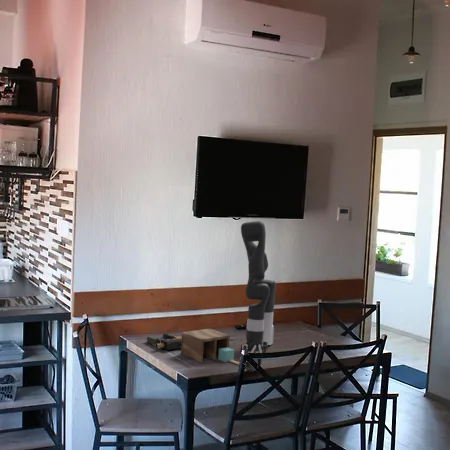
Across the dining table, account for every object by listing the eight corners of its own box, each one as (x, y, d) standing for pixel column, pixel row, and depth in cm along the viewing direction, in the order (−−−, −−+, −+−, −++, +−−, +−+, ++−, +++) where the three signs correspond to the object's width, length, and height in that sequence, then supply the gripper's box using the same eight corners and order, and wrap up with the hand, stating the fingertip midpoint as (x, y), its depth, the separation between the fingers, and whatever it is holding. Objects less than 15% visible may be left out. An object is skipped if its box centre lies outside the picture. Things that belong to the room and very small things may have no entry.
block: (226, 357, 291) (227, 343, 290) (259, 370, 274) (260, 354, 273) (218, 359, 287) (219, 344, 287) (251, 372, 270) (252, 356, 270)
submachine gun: (134, 343, 312) (160, 352, 292) (134, 333, 312) (161, 342, 292) (182, 338, 330) (211, 347, 310) (183, 329, 330) (211, 337, 310)
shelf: (208, 349, 304) (209, 328, 303) (228, 356, 293) (229, 335, 292) (180, 353, 293) (182, 332, 293) (200, 361, 282) (201, 339, 281)
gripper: (261, 325, 280) (258, 362, 281) (237, 328, 270) (234, 366, 272) (273, 328, 274) (270, 366, 275) (248, 332, 265) (246, 371, 266)
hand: (252, 366), depth 273 cm, fingers open, 6 cm apart
